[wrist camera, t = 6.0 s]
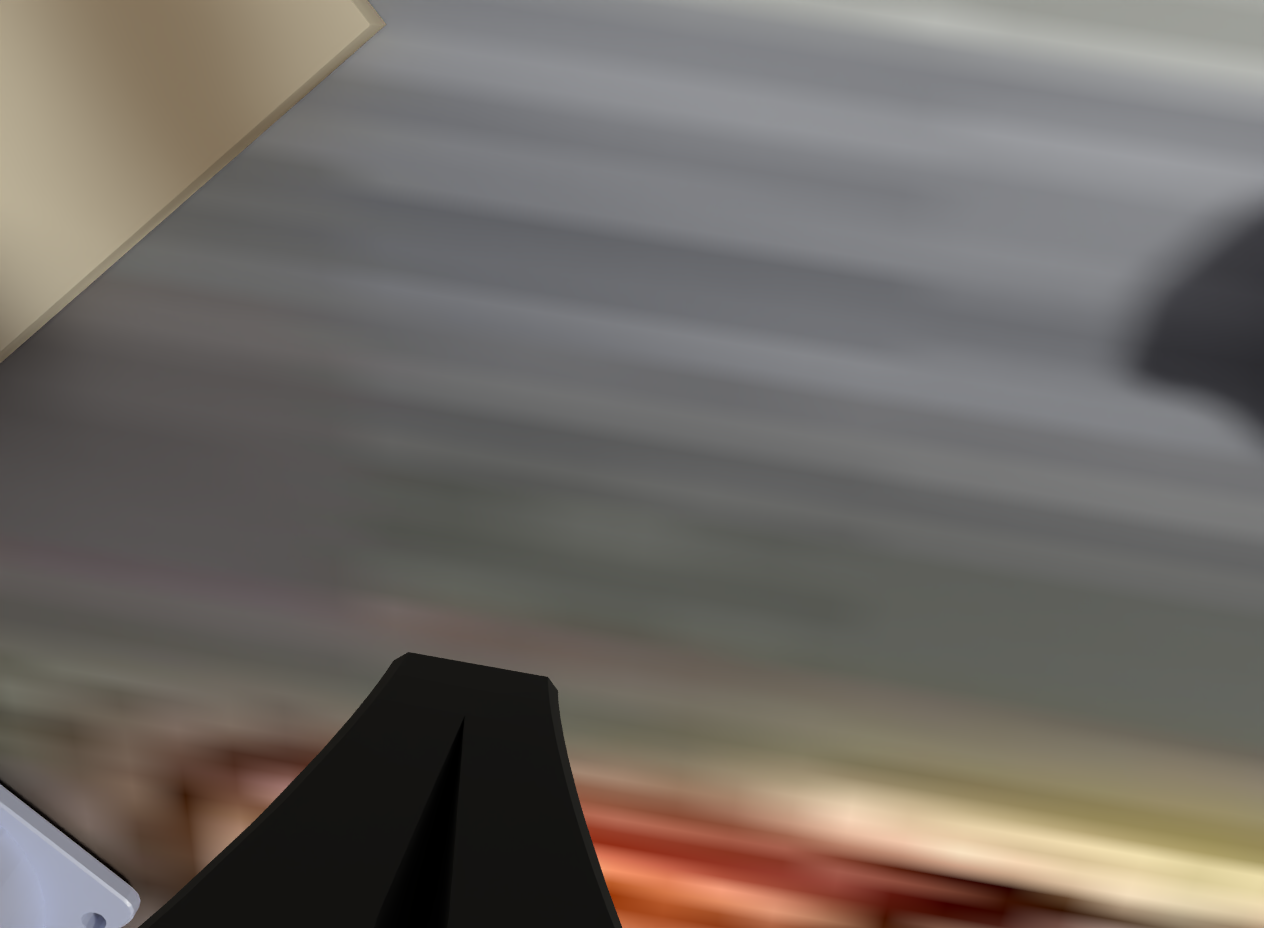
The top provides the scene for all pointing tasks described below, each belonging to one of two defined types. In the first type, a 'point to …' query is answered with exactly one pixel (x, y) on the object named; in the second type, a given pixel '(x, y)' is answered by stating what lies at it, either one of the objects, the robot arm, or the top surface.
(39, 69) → the board
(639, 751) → the top surface
